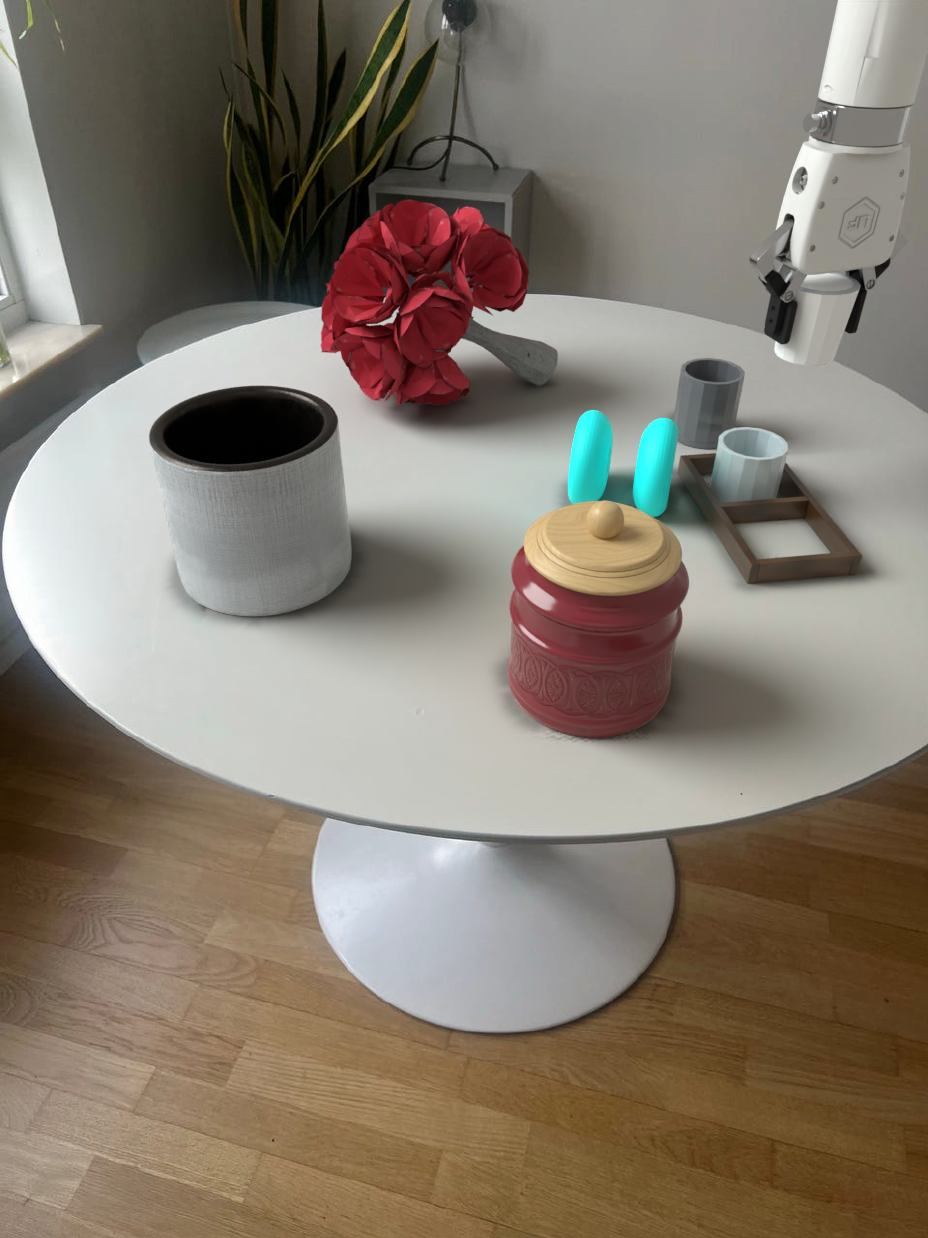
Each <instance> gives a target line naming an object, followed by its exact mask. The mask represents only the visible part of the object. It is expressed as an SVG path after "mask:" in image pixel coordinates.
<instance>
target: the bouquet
mask: <svg viewBox="0 0 928 1238" xmlns="http://www.w3.org/2000/svg"><path fill="white" fill-rule="evenodd" d="M484 221H485V218H484V216H483V213H482V211H481V210H480V209H479V208H476V207H472V206H464V207H461V208H460V206H458V207H457V209H456V211H455V212H454V213H453V215H452V214H451V215H448V213H447V212H446V211H445V210H444V209H443V208H441V207H440V206H438V205H435V204H433V203H428V202H422V201H418V200H413V199H405V200H404V199H403V200H398V201H397V202H396V203H395V204H394V203H389V204H386V205H385V206H383V208H382V209H380V210H377V211H375V213H374V214H371V215H370V216H369V217H367V219H365V220H364V221H363V223H362V224H361V226H358V227H357V228H356V229H355V230H354V232H353V233H352V234H351V235H350V236H349V238H348V240H347V242H346V245H345V247H344V250H343V252H342V253H341V254H340V256H339V258H338V260H337V261H335V262H333V269H334V272H333V274H332V275H331V279H330V280H329V282H328V283H325V286H326V287H327V289H326V296H324V298H323V301H322V305H321V314H320V315H321V316H320V317H321V321H322V323H323V324H322V327H321V331H320V348H321V353H327V354H336V353H338V352H339V353H340V355H341V359H342V361H343V363H344V364H345V366H346V367H347V369H348V371H349V374H350V376H351V377H352V379H353V380H354V381H355V382H356V384H357V385H358V386H359V389H360V390H361V391H362V393H363V394H364V395H365V396H366V397H368V398H369V399H371V400H372V401H376V402H379V401H381V400H383V399H385V398H386V400H385V401H387V400H389V399H390V398H391V397H393V395H394V394H395V396H396V408H397V409H398V408H399V406H400V405H402V404H407V403H410V404H413V405H417V406H418V405H427V404H428V405H434V406H443V405H448V404H449V405H450V404H452V402H459V401H460V400H461V399H462V397H464V398H466V397H468V396H469V393H470V389H469V388H470V379H468V377H467V376H466V375H465V373H464V372H463V371H462V369H461V368H460V367H459V365H458V363H457V361H456V360H454V359H453V358H452V357H451V356H450V355H449V354H450V353H451V352H452V349H453V348H455V347H456V346H457V345H458V344H459V342H460V340H461V339H462V340H466V341H469V342H470V343H473V344H476V345H478V346H479V347H481V348H483V349H484V350H485V351H488V352H489V353H490V354H492V355H493V356H494V357H495V358H496V359H497V360H499V361H500V362H501V363H503V364H504V365H505V367H507V368H508V369H510V370H511V371H512V372H514V373H515V374H516V375H518V376H519V377H521V378H522V379H524V380H525V381H527V382H529V383H531V384H533V385H535V386H537V387H538V386H543V385H544V384H546V383H547V382H548V381H549V380H550V378H551V377H552V376H553V374H554V372H555V370H556V368H557V364H558V359H559V354H558V353H559V352H558V350H557V349H556V348H554V347H553V346H551V345H549V344H547V343H545V342H543V341H541V340H537V339H536V340H535V339H531V338H526V337H521V336H517V335H512V334H508V333H507V334H506V333H503V332H500V331H496V330H493V329H491V328H488V327H486V326H484V325H483V324H480V323H479V322H477V321H476V320H474V317H475V316H473V311H474V308H476V309H478V310H479V311H482V312H484V313H487V314H489V315H491V316H493V313H492V312H491V311H490V310H489V309H491V310H494V311H497V312H499V313H501V312H503V311H510V312H512V313H514V312H516V311H517V310H518V309H519V308H521V307H522V306H523V304H524V302H525V299H526V296H527V292H528V286H529V274H530V271H529V267H528V264H527V260H526V258H525V257H524V255H523V253H522V252H521V250H520V249H519V248H517V247H515V246H514V245H513V243H512V237H510V236H509V235H508V234H507V233H505V232H504V231H503V230H500V229H497V228H494V227H491V226H490V225H488V224H487V223H486V222H484ZM449 263H450V272H449V271H448V270H444V269H445V268H446V267H447V266H448V265H449ZM443 270H444V271H443ZM409 276H410V277H412V278H413V279H416V280H414V282H412V283H411V285H410V282H409ZM468 278H469V279H468ZM467 279H468V280H467ZM384 288H385V289H387V292H385V290H384ZM488 308H489V309H488ZM395 311H396V315H395V317H394V316H393V314H394V313H395ZM397 311H398V312H397ZM393 317H394V320H393V322H387V323H385V324H380V323H383V322H384V321H385V322H386V321H387V320H390V319H391V318H393Z"/></svg>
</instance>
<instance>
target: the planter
mask: <svg viewBox="0 0 928 1238" xmlns="http://www.w3.org/2000/svg"><path fill="white" fill-rule="evenodd" d="M340 437H341V436H340V426H339V418H338V414H337V413H336V410H335V409H334V408H333V406H332V405H331V404H329V403H328V402H327V401H326V400H324V399H323V398H321V397H319V396H317V395H315V394H312V393H310V392H307V391H304V390H300V389H296V388H291V387H286V386H279V385H242V386H240V385H239V386H234V387H233V386H232V387H226V388H225V387H224V388H220V389H216V390H211V391H208V392H204V393H200V394H198V395H195V396H192V397H190V398H187V399H184V400H182V401H181V402H179V403H177V404H175V405H173V406H171V407H170V408H168V409H167V410H166V411H164V412H163V413H162V414H161V415H159V416H158V417H157V419H156V420H155V421H154V422H153V423H152V425H151V427H150V430H149V433H148V443H149V447H150V452H151V457H152V460H153V464H154V469H155V474H156V477H157V481H158V486H159V492H160V494H161V500H162V504H163V509H164V513H165V519H166V523H167V528H168V532H169V537H170V542H171V546H172V552H173V556H174V560H175V565H176V569H177V573H178V578H179V579H180V580H179V581H180V582H181V584H182V587H183V589H184V590H185V592H186V593H187V595H188V596H189V597H190V598H191V599H192V600H194V601H195V602H196V603H198V604H199V605H201V606H203V607H205V608H206V609H209V610H212V611H215V612H217V613H220V614H225V615H230V616H238V617H267V616H269V617H270V616H277V615H281V614H286V613H290V612H294V611H297V610H301V609H303V608H306V607H308V606H311V605H313V604H314V603H317V602H319V601H321V600H322V599H324V598H326V597H327V596H328V595H330V594H331V593H333V592H334V591H335V590H336V589H337V588H338V587H339V586H340V585H341V584H342V583H343V581H344V580H346V577H347V576H348V574H349V572H350V569H351V565H352V554H353V550H352V538H351V529H350V520H349V513H348V512H349V510H348V503H347V494H346V485H345V475H344V467H343V458H342V447H341V438H340Z"/></svg>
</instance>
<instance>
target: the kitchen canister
mask: <svg viewBox="0 0 928 1238" xmlns="http://www.w3.org/2000/svg"><path fill="white" fill-rule="evenodd" d="M679 540H680V539H679V538H678V537H677V535H676V534H675V533H674V532H673V531H672V530H671V529H670V527H669V526H667V525H666V524H664V523H663V522H662V521H660V520H659V519H658V518H656V517H651V516H649V515H648V514H646V513H645V512H643V511H641V510H639V509H637V507H634V506H630V505H628V504H624V503H620V502H614V501H611V500H599V501H588V502H581V503H576V504H572V503H571V504H569V505H566V506H564V507H561V508H557V509H555V510H552V511H550V512H547V513H546V514H543V515H542V516H540V517H539V518H537V519H536V520H535V521H534V522H533V523H532V524H531V525H530V526H529V527H528V529H527V530H526V533H525V536H524V539H523V544H522V545H521V546H520V548H519V549H518V550H517V552H516V554H515V555H514V557H513V560H512V563H511V567H510V576H511V580H512V581H511V582H512V584H513V586H514V589H513V591H512V593H511V596H510V600H509V615H510V618H511V624H510V625H511V626H510V627H511V629H510V650H509V654H508V658H507V667H506V668H507V671H506V673H507V674H506V677H507V683H508V687H509V689H510V692H511V694H512V696H513V699H514V701H515V702H516V703H517V704H518V706H519V707H520V709H521V710H522V711H523V712H524V713H526V714H527V715H528V716H529V717H530V718H531V719H532V720H534V721H535V722H537V723H539V724H540V725H542V726H544V727H546V728H548V729H551V730H553V731H556V732H559V733H562V734H565V735H568V736H573V737H579V738H586V739H587V738H588V739H589V738H590V739H591V738H592V739H604V738H611V737H619V736H622V735H625V734H628V733H632V732H634V731H636V730H638V729H640V728H642V727H644V726H645V725H647V724H648V723H650V722H651V721H652V720H653V719H654V718H655V717H656V716H657V715H658V714H659V713H660V711H661V710H662V709H663V707H664V706H665V704H666V702H667V699H668V697H669V694H670V688H671V684H672V664H673V660H674V655H675V654H674V653H675V649H676V644H677V639H678V637H679V635H680V633H681V629H682V626H683V619H684V617H683V609H682V604H683V603H684V601H685V599H686V597H687V596H688V592H689V589H690V577H689V573H688V570H687V568H686V565H685V563H684V562H683V561H682V560H683V549H682V545H681V542H680V541H679Z"/></svg>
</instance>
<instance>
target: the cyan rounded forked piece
mask: <svg viewBox="0 0 928 1238" xmlns="http://www.w3.org/2000/svg"><path fill="white" fill-rule="evenodd" d="M575 426H576V427H575V430H574V435H573V440H572V444H571V445H572V446H571V451H570V457H569V466H568V474H567V496H568V500H569V501H570V503H571V505H572V504H576V503H581V502H588V501H600V500H601V499H602V496H603V494H604V493H605V490H606V487H607V483H608V478H609V473H610V466H611V459H612V453H613V452H612V451H613V443H614V442H613V441H614V434H613V433H614V432H613V428H612V423H611V421H610V419H609V418H608V416H607V415H605V413H604V412H602V411H600V410H597V409H589V410H587V411H585V412H583V414H582V415H580V417H579V418H578V421H577V423H576V425H575ZM677 439H678V427H677V425H676V423H675V422H674V421H673V419H671V418H669V417H659V418H656V419H654V420H652V421H651V422H650V423H649V424H648V425H647V427H646V428H645V429H644V431H643V432H642V435H641V437H640V441H639V446H638V450H637V456H636V463H635V470H634V475H633V476H634V477H633V483H632V485H633V486H632V498H633V502H634V505H635V508H636V509H639V510H641V511H643V512H645V513H646V514H648V515H649V516H651V517H653V518H657V517H660V516H661V515H662V514H664V513H665V511H666V510H667V507H668V502H669V495H670V489H671V484H672V478H673V471H674V464H675V457H676V452H677V445H678V441H677Z"/></svg>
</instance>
